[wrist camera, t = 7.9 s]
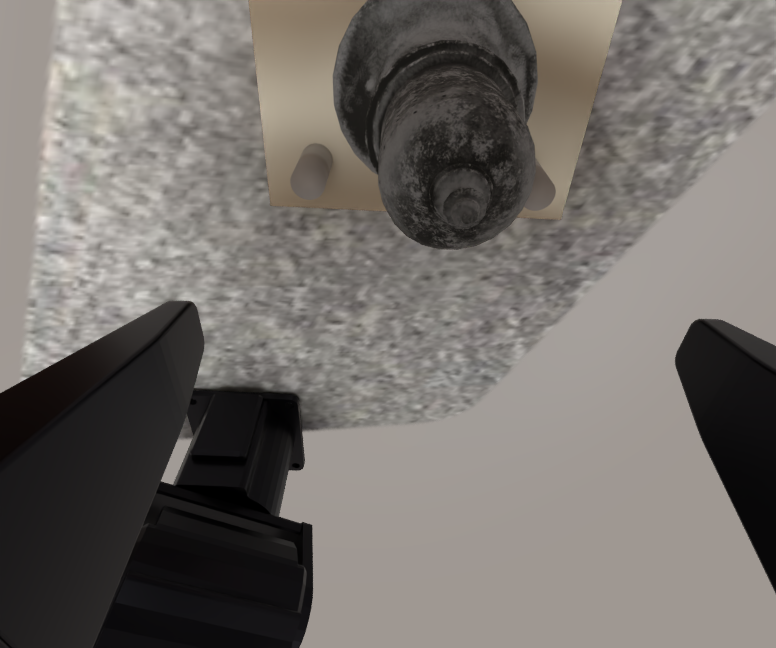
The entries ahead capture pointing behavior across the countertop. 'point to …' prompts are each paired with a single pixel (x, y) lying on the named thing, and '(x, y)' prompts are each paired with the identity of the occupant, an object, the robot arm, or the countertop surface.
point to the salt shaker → (441, 113)
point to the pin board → (322, 129)
